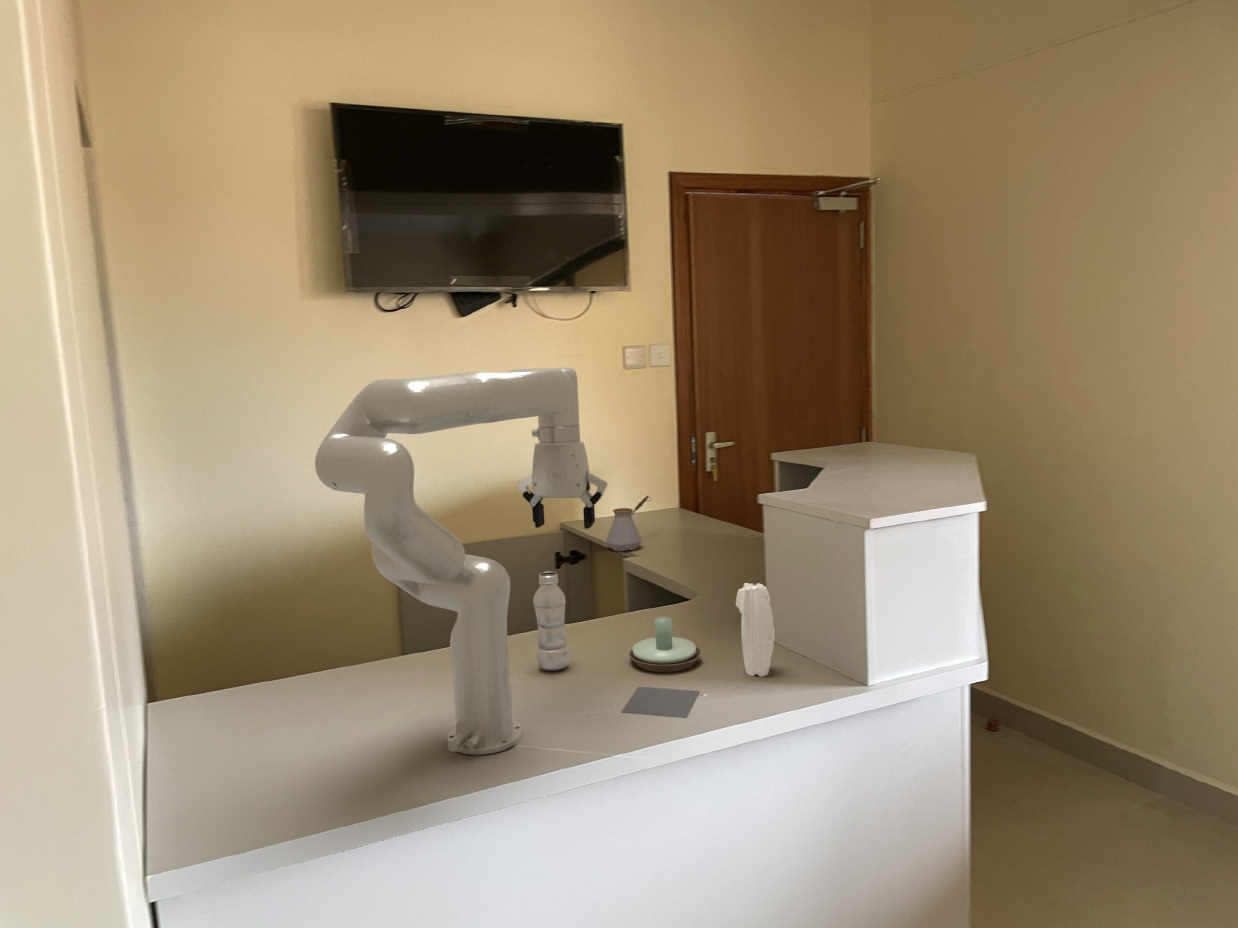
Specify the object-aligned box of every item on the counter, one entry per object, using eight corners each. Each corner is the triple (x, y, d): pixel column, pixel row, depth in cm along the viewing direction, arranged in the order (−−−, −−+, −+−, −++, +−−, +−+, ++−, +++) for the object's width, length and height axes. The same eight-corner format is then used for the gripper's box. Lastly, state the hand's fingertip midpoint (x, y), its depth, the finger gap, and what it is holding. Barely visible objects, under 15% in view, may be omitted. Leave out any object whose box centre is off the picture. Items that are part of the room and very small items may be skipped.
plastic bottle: (565, 674, 177) (560, 578, 174) (533, 673, 178) (527, 577, 176) (573, 663, 183) (568, 570, 180) (542, 662, 185) (537, 569, 182)
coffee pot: (628, 554, 275) (627, 507, 273) (599, 550, 282) (597, 505, 280) (665, 540, 292) (663, 496, 290) (636, 537, 299) (634, 494, 297)
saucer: (647, 648, 191) (647, 636, 191) (711, 656, 184) (711, 644, 184) (617, 672, 178) (616, 659, 178) (685, 682, 171) (684, 668, 171)
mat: (686, 719, 154) (686, 717, 154) (620, 714, 157) (620, 712, 157) (700, 692, 165) (699, 690, 165) (638, 688, 168) (638, 686, 168)
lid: (688, 665, 173) (687, 631, 172) (625, 661, 177) (623, 627, 176) (701, 643, 185) (700, 610, 184) (641, 639, 189) (640, 608, 188)
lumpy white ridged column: (736, 679, 171) (775, 680, 169) (733, 589, 168) (772, 590, 167) (739, 667, 177) (776, 668, 176) (736, 580, 175) (773, 580, 173)
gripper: (507, 438, 160) (513, 530, 163) (598, 437, 155) (602, 532, 158) (523, 433, 167) (528, 521, 170) (610, 432, 162) (614, 523, 165)
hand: (564, 526), depth 164 cm, fingers open, 9 cm apart
